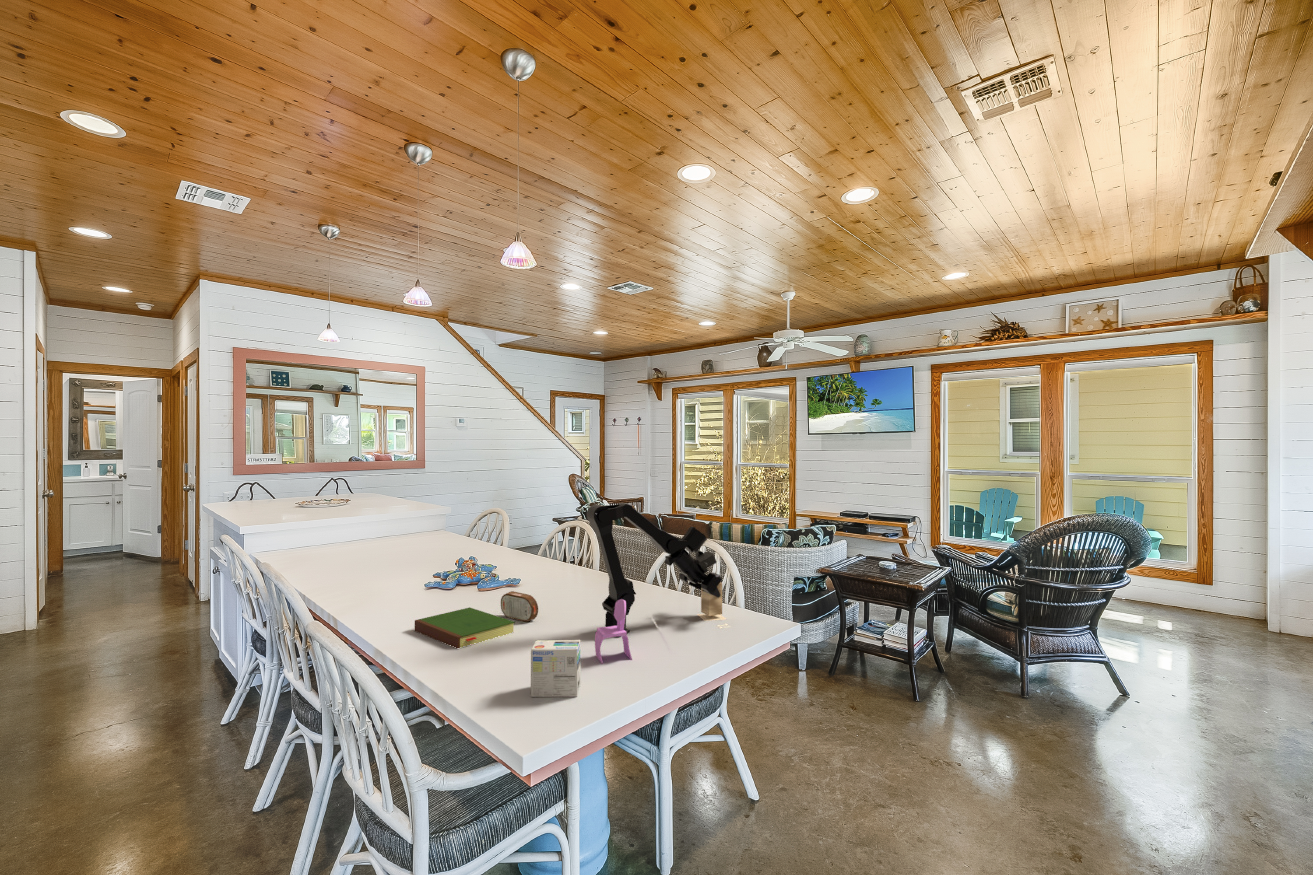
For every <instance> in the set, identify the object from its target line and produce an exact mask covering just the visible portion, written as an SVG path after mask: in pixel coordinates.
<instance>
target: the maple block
mask: <svg viewBox="0 0 1313 875" xmlns="http://www.w3.org/2000/svg"><path fill="white" fill-rule="evenodd" d="M717 588H718V590H719V592H720V595H721V596H720V597H719V598H718V597H716V596H714V595H711V594H709V593H706V592H704V591H702V590H703V589H702V588H701V590H700V592H701V593H700V606H701V607H700V612H701V614H706V615H708V616H713V615H723V582H720V583H719V585H718V586H717Z"/></svg>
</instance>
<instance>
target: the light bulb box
mask: <svg viewBox="0 0 1313 875" xmlns="http://www.w3.org/2000/svg"><path fill="white" fill-rule="evenodd" d="M580 688H581V639H563V640H562V639H558V640H556V639H555V640H539V639H538V640H535V642H534V644H533V646H532V648H531V650H530V698H550V697H551V698H556V697H557V698H558V697H559V698H561V697H564V698H566V697H567V698H568V697H571V698H572V697H578V695H579V691H580Z"/></svg>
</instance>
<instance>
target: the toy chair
mask: <svg viewBox="0 0 1313 875" xmlns="http://www.w3.org/2000/svg"><path fill="white" fill-rule="evenodd" d="M625 615H626V601H625V600H622V599H620V600H618V601H617V602H616V604H615V610H614V617H615V619H616V620H617V626H611V627H605V626H601V627H596V632H595V634H594V648H595V650H594V651H595V656H596V658H597V659H598V660H599V662H600V663H601V664H602V665H603V664H604V662H603V658H602V654H601V652H602V651H601V647H602V643H603V641H604V640H605V639H606V640H607V639H609V638H615V637H616V636H620V637H621V639H622V642H623V643H622V644H623V652H624V654H625V655H626V656H627V657H628V658H629V659H630V660H631V661H632V660H633V657H632V654H631V649H630V645H629V642H630V641H629V640H630V639H629V636H628V635H627V634H628V633H627V632H626V631H625V630H624V623H625ZM626 616H627V615H626ZM616 638H617V637H616Z"/></svg>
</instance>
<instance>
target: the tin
mask: <svg viewBox="0 0 1313 875" xmlns="http://www.w3.org/2000/svg"><path fill="white" fill-rule="evenodd" d="M500 610H501V612H502V614H503V615H504V616H505V617H506V618H509V619H511V618H512V619H511V620H517V621H520V622H524V623H529V622H530V621H533V620H535V619H536V618H537V617H538V614H539V605H538V602H537V601H536V598H534V596H532V595H531V594H526V593H523V592H518V591H514V590H510V591H508V592H506V593H504V594H503V595H502V596H501V598H500Z"/></svg>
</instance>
